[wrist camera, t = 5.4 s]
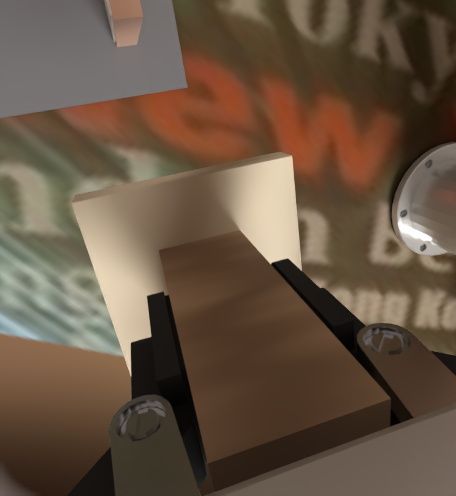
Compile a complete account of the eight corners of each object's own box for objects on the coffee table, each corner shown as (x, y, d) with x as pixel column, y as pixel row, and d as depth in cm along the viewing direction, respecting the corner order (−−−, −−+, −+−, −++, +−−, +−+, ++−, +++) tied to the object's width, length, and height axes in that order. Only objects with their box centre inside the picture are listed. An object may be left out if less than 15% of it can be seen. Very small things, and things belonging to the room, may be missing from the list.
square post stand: (279, 152, 15) (531, 234, 6) (295, 316, 18) (472, 538, 9) (75, 195, 13) (-30, 396, 4) (132, 364, 17) (143, 686, 8)
